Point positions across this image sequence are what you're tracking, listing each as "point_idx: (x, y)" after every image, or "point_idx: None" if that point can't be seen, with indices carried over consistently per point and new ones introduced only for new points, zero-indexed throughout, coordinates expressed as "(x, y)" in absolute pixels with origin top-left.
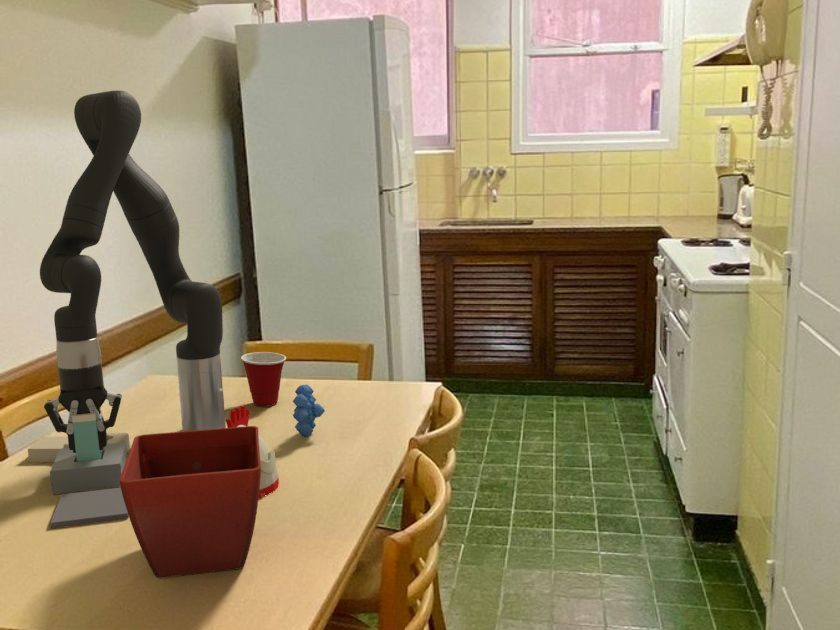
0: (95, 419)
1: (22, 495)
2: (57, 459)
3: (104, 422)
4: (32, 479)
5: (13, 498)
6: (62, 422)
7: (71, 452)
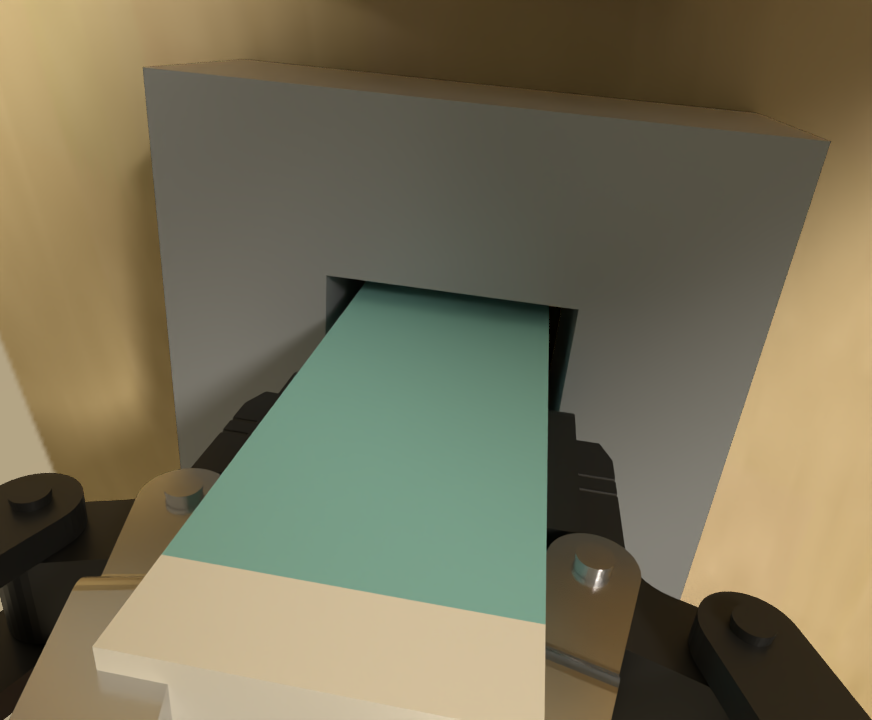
0: None
1: (94, 403)
2: (186, 363)
3: (617, 714)
4: (68, 155)
5: (60, 423)
6: (28, 568)
7: (272, 235)
